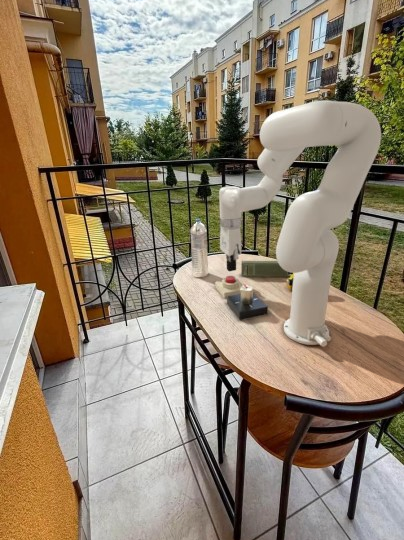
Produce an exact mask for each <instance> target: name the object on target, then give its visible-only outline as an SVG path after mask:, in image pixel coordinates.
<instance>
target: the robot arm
mask: <svg viewBox="0 0 404 540" xmlns="http://www.w3.org/2000/svg"><path fill="white" fill-rule="evenodd" d="M259 140H260V144H261V146H262V147H263V148H264V149H263V150H262V152H261V153H260V154H259V156H258V158H257V161H256V163H257V167H258V168H259V170H260V171H261V173H262V174H264V176H263V177H262V179H261V180H260V182H259V183H258V184H257V185H251V186H246V187H240V186H234V185H233V186H223V187H221V188H219V191H218V197H219V199H218V200H219V202H218V203H219V227H220V231H219V248H220V251H221V252H223V253H224V254H225V259H226V270H227V271H228V272H233V271H237V260H239V255H241V254H242V233H241V227H242V213H245V212H249V211H253V210H258V209H263V208H264V207H266V206H268V205H269V203H270V202H272V200H274V198H275V197H276V196H277V195H278V193H279V192H280V190H281V187H282V184H283V179H284V177H283V176H284V174H285V173H286V171H287V170H289V168H290V167H291V166H292V165H293V163H294V162H295V161H296V160H297V158H299V156H300V155H301V154H302V153H303V151H304V150H305V149H306V148H312V147H329V146H332V147H333V146H337V150H336V152H335V153H334V155H333V156H332V157H331V159H330V161H329V162H328V164H327V166H326V168H325V170H324V173H323V175H322V179H321V181H320V184H319V185H318V187H317V189H316V190H312V191H308V192H304V193H302V194H300V195H298V196H297V197H296V198H295V199H294V200H293V201H292V202H291V204H290V205H289V207H288V209H287V212H286V215H285V218H284V221H283V224H282V227H281V229H280V233H279V237H278V240H277V243H276V247H275V257H276V261H278V263H279V265H280V266H281V268H282V269H284V270H285V271H287V272H291V273H294V278H293V288H292V291H291V301H290V313H289V318H288V319H287V320H285V321H284V324H283V331H284V333H285V335H286V336H287V337H288V338H289V339H291V340H292V341H294V342H296V343H299V344H301V345H302V344H303V345H308V346H316V345H319V346H320V347H322V348H324V347H326V346H327V345H328V342H330V341H331V340H332V337H331V336H330V331H329V328H328V326H327V325H326V324H325V322H326V315H327V310H328V303H329V293H330V288H331V282H332V275H333V271H334V267H335V264H336V261H337V258H338V256H339V255H338V254H339V250H340V243H339V239H338V236H337V235H336V234H335V233H334V232H333V230H332V229H335V228H337V227H339V226H341V225H342V224H344V223H346V221H347V220H348V219H349V216H350V215H351V212H352V210H353V208H354V205H355V204H356V201H357V198H358V196H359V195H360V192H361V190H362V187H363V185H364V183H365V180H366V178H367V175H368V173H369V172H370V169H371V167H372V165H373V163H374V161H375V159H376V157H377V154H378V151H379V149H380V147H381V146H380V145H381V140H382V129H381V125H380V122H379V120H378V118H377V116H376V115H375V114H374V113H373V111H372V110H370V109H369V108H368V107H366V106H364V105H361V104H358V103H354V102H348V101H338V100H337V101H336V100H314V101H310V102H308V103H304V104H301V105H297V106H293V107H289V108H285V109H282V110H277V111H275V112H273V113H271V114H270V115H269V116H267V117H266V118H265V120H264V121H263V123H262V125H261V127H260V130H259Z"/></svg>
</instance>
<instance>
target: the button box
mask: <svg viewBox="0 0 404 540" xmlns="http://www.w3.org/2000/svg"><path fill="white" fill-rule="evenodd" d="M214 286H215V288H216V289H217V291H218V292H219V293H220V295H221V296H222V297H223V299H227V296H231V295H237V294H241V287H242V286H244V284H242V282H241V281H240V280H239V279H238V278H236V277H235V283H226V277H224V278H223V279H222V280H217V281H216V280H215V285H214Z"/></svg>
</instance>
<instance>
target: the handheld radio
mask: <svg viewBox="0 0 404 540" xmlns="http://www.w3.org/2000/svg"><path fill="white" fill-rule="evenodd" d="M292 274H293V273H291V272H287V271H285V270H284V269H282V268H281V266H280V265H279V263H278V261H277V260H241V273H240V275H241V277H271V278H273V277H274V278H276V277H277V278H279V277H280V278H283V277H285V278H287V277H291V275H292Z"/></svg>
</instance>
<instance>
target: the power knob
mask: <svg viewBox="0 0 404 540" xmlns="http://www.w3.org/2000/svg"><path fill="white" fill-rule="evenodd" d="M253 292H254V286H251V285H247V284H243V286H242V287H241V302H242V303H243V304H251V303H252V302H253Z"/></svg>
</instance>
